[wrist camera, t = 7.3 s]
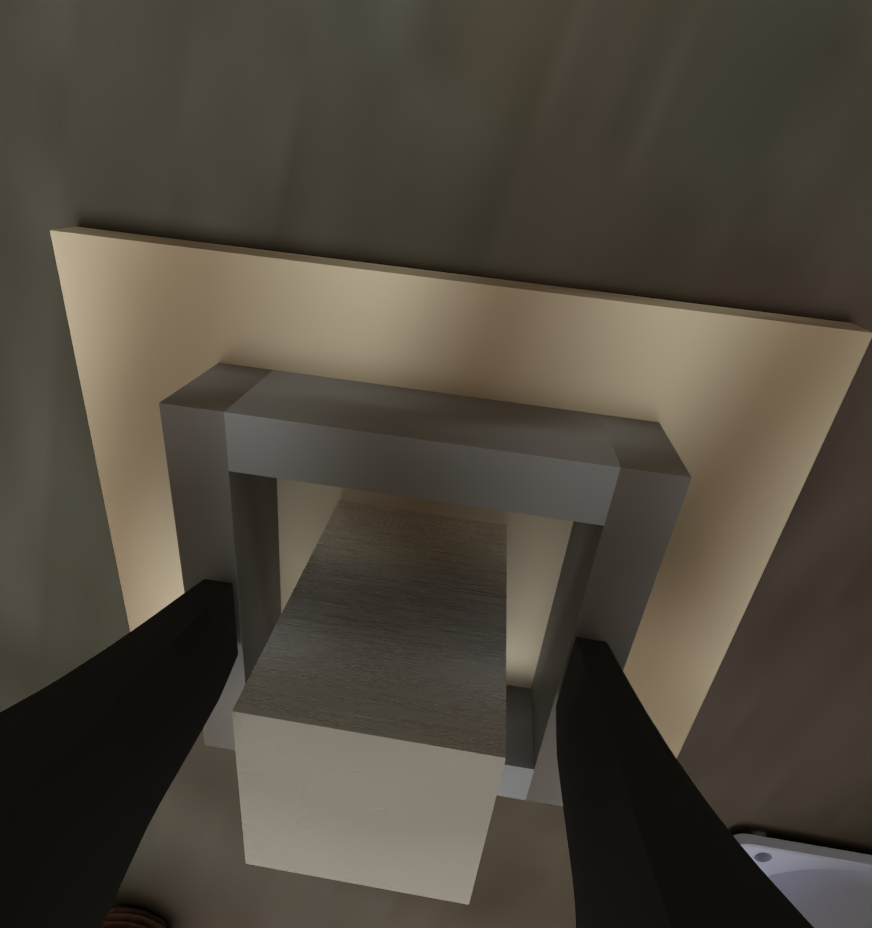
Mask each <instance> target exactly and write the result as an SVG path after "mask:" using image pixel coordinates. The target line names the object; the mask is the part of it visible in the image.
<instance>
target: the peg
mask: <svg viewBox="0 0 872 928" xmlns="http://www.w3.org/2000/svg"><path fill="white" fill-rule="evenodd" d="M506 604H507V525H503V524H496V523H490V522H483V521H477V520H470V519H463V518H457V517H450V516H443V515H437V514H430V513H423V512H417V511H410V510H403V509H397V508H390V507H383V506H377V505H370V504H363V503H357V502H350V501H343V500H339V502H338V504H337V506H336V508H335V510H334V512H333V513H332V515H331V517H330V519H329V521H328V523H327V525H326V527H325V529H324V531H323V533H322V535H321V537H320V539H319V541H318V543H317V545H316V547H315V549H314V551H313V553H312V555H311V557H310V559H309V561H308V563H307V565H306V567H305V568H304V570H303V572H302V574H301V576H300V578H299V580H298V582H297V584H296V586H295V588H294V590H293V592H292V594H291V596H290V598H289V600H288V602H287V604H286V606H285V608H284V610H283V612H282V614H281V616H280V618H279V620H278V622H277V624H276V625H275V627H274V629H273V631H272V633H271V635H270V637H269V639H268V641H267V643H266V645H265V647H264V649H263V651H262V653H261V655H260V657H259V659H258V661H257V663H256V665H255V667H254V669H253V671H252V673H251V675H250V677H249V679H248V680H247V682H246V684H245V686H244V688H243V690H242V692H241V694H240V696H239V698H238V700H237V702H236V704H235V706H234V708H233V710H232V718H233V729H234V740H235V751H236V762H237V773H238V784H239V795H240V806H241V817H242V828H243V839H244V849H245V860H246V864H251V865H256V866H262V867H267V868H273V869H278V870H284V871H289V872H294V873H300V874H305V875H311V876H316V877H321V878H327V879H332V880H338V881H343V882H349V883H354V884H359V885H365V886H370V887H376V888H381V889H387V890H392V891H397V892H403V893H408V894H414V895H419V896H424V897H430V898H435V899H441V900H446V901H452V902H457V903H462V904H468V905H469V902H470V898H471V894H472V890H473V886H474V882H475V878H476V874H477V870H478V866H479V862H480V858H481V854H482V851H483V847H484V843H485V839H486V835H487V831H488V827H489V823H490V819H491V815H492V811H493V807H494V803H495V799H496V795H497V791H498V787H499V783H500V779H501V775H502V771H503V767H504V763H505V759H506Z"/></svg>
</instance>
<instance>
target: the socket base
mask: <svg viewBox="0 0 872 928" xmlns="http://www.w3.org/2000/svg"><path fill="white" fill-rule="evenodd" d="M50 233H51V238H52V243H53V248H54V253H55V258H56V263H57V268H58V273H59V278H60V283H61V288H62V293H63V298H64V303H65V308H66V313H67V318H68V323H69V328H70V333H71V338H72V343H73V348H74V353H75V358H76V363H77V368H78V373H79V378H80V383H81V388H82V393H83V398H84V403H85V408H86V413H87V418H88V423H89V428H90V433H91V438H92V443H93V448H94V453H95V458H96V463H97V468H98V473H99V478H100V483H101V488H102V493H103V498H104V503H105V508H106V513H107V518H108V523H109V528H110V533H111V538H112V543H113V548H114V553H115V558H116V563H117V568H118V573H119V578H120V583H121V587H122V592H123V597H124V602H125V607H126V612H127V617H128V622H129V627H130V632H131V631H132V630H134V629H135V628H137V627H138V626H140V625H141V624H142V623H144V622H145V621H147V620H148V619H149V618H151V617H152V616H154V615H155V614H156V613H158V612H159V611H160V610H162V609H163V608H165V607H166V606H167V605H169V604H170V603H171V602H173V601H174V600H176V599H177V598H178V597H180V596H181V595H182V594H184V593H185V592H187V591H188V590H189V589H191V588H192V587H194V586H195V585H196V584H198V583H199V582H201V581H202V580H204V579H208V580H214V581H221V582H227V583H232V586H233V598H234V610H235V622H236V634H237V646H238V656H237V658H236V661H235V663H234V666H233V668H232V671H231V673H230V676H229V678H228V680H227V683H226V685H225V687H224V689H223V692H222V694H221V696H220V699H219V701H218V702H217V704H216V706H215V708H214V710H213V711H212V713H211V715H210V717H209V719H208V720H207V722H206V724H205V726H204V727H203V733H204V741H205V745H207V746H213V747H219V748H225V749H231V750H235V740H234V729H233V718H232V710H233V708H234V706H235V704H236V702H237V700H238V698H239V696H240V694H241V692H242V690H243V688H244V686H245V684H246V682H247V680H248V679H249V677H250V675H251V673H252V671H253V669H254V667H255V665H256V663H257V661H258V659H259V657H260V655H261V653H262V651H263V649H264V647H265V645H266V643H267V641H268V639H269V637H270V635H271V633H272V631H273V629H274V627H275V625H276V624H277V622H278V620H279V618H280V616H281V614H282V612H283V610H284V608H285V606H286V604H287V602H288V600H289V598H290V596H291V594H292V592H293V590H294V588H295V586H296V584H297V582H298V580H299V578H300V576H301V574H302V572H303V570H304V568H305V567H306V565H307V563H308V561H309V559H310V557H311V555H312V553H313V551H314V549H315V547H316V545H317V543H318V541H319V539H320V537H321V535H322V533H323V531H324V529H325V527H326V525H327V523H328V521H329V519H330V517H331V515H332V513H333V512H334V510H335V508H336V506H337V504H338V502H339V500H343V501H350V502H357V503H363V504H370V505H377V506H383V507H390V508H397V509H403V510H410V511H417V512H423V513H430V514H437V515H443V516H450V517H457V518H463V519H470V520H477V521H483V522H490V523H496V524H503V525H507V604H506V759H505V763H504V767H503V771H502V775H501V779H500V783H499V787H498V791H497V795H499V796H504V797H510V798H516V799H522V800H528V801H533V802H539V803H545V804H551V805H557V806H563V801H562V794H561V786H560V778H559V770H558V762H557V745H556V704H557V700H558V697H559V693H560V690H561V686H562V683H563V679H564V676H565V673H566V669H567V666H568V662H569V659H570V655H571V652H572V648H573V645H574V641H575V638H576V637H580V638H586V639H593V640H599V641H606V642H607V644H608V645H609V646H610V648H611V650H612V652H613V653H614V655H615V657H616V659H617V661H618V663H619V664H620V666H621V668H622V670H623V672H624V674H625V675H626V677H627V679H628V681H629V682H630V684H631V686H632V688H633V689H634V691H635V693H636V695H637V696H638V698H639V700H640V701H641V703H642V705H643V706H644V708H645V710H646V711H647V713H648V715H649V716H650V718H651V720H652V721H653V723H654V724H655V726H656V728H657V729H658V731H659V732H660V734H661V735H662V737H663V739H664V740H665V742H666V743H667V745H668V747H669V748H670V750H671V751H672V753H673V754H674V756H675V757H676V759H677V757H678V755H679V752H680V750H681V748H682V746H683V744H684V742H685V740H686V737H687V735H688V733H689V731H690V729H691V727H692V724H693V722H694V720H695V718H696V716H697V714H698V711H699V709H700V707H701V705H702V703H703V701H704V699H705V696H706V694H707V692H708V690H709V688H710V686H711V683H712V681H713V679H714V677H715V675H716V673H717V670H718V668H719V666H720V664H721V662H722V660H723V658H724V655H725V653H726V651H727V649H728V647H729V645H730V642H731V640H732V638H733V636H734V634H735V632H736V629H737V627H738V625H739V623H740V621H741V619H742V617H743V614H744V612H745V610H746V608H747V606H748V604H749V601H750V599H751V597H752V595H753V593H754V591H755V588H756V586H757V584H758V582H759V580H760V578H761V576H762V573H763V571H764V569H765V567H766V565H767V563H768V560H769V558H770V556H771V554H772V552H773V550H774V547H775V545H776V543H777V541H778V539H779V537H780V534H781V532H782V530H783V528H784V526H785V524H786V522H787V519H788V517H789V515H790V513H791V511H792V509H793V506H794V504H795V502H796V500H797V498H798V496H799V493H800V491H801V489H802V487H803V485H804V483H805V481H806V478H807V476H808V474H809V472H810V470H811V468H812V465H813V463H814V461H815V459H816V457H817V455H818V452H819V450H820V448H821V446H822V444H823V442H824V440H825V437H826V435H827V433H828V431H829V429H830V427H831V424H832V422H833V420H834V418H835V416H836V414H837V411H838V409H839V407H840V405H841V403H842V401H843V399H844V396H845V394H846V392H847V390H848V388H849V386H850V383H851V381H852V379H853V377H854V375H855V373H856V370H857V368H858V366H859V364H860V362H861V360H862V358H863V355H864V353H865V351H866V349H867V347H868V345H869V342H870V340H871V338H872V332H870V331H868V330H866V329H864V328H861V327H859V326H857V325H855V324H852V323H848V322H840V321H832V320H824V319H816V318H808V317H800V316H792V315H784V314H776V313H768V312H760V311H752V310H744V309H736V308H728V307H719V306H711V305H703V304H695V303H687V302H679V301H671V300H663V299H655V298H647V297H639V296H631V295H623V294H615V293H607V292H599V291H591V290H583V289H575V288H567V287H558V286H550V285H542V284H534V283H526V282H518V281H510V280H502V279H494V278H486V277H478V276H470V275H462V274H454V273H446V272H438V271H430V270H422V269H414V268H406V267H398V266H389V265H381V264H373V263H365V262H357V261H349V260H341V259H333V258H325V257H317V256H309V255H301V254H293V253H285V252H277V251H269V250H261V249H253V248H245V247H237V246H228V245H220V244H212V243H204V242H196V241H188V240H180V239H172V238H164V237H156V236H148V235H140V234H132V233H124V232H116V231H108V230H100V229H92V228H84V227H70V228H63V229H55V230H50Z"/></svg>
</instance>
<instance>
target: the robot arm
mask: <svg viewBox="0 0 872 928" xmlns="http://www.w3.org/2000/svg"><path fill="white" fill-rule="evenodd" d="M237 656H238V646H237V634H236V622H235V610H234V598H233V586H232V583H227V582H221V581H214V580H208V579H204V580H202V581H201V582H199V583H198V584H196V585H195V586H194V587H192V588H191V589H189V590H188V591H187V592H185V593H184V594H182V595H181V596H180V597H178V598H177V599H176V600H174V601H173V602H171V603H170V604H169V605H167V606H166V607H165V608H163V609H162V610H160V611H159V612H158V613H156V614H155V615H154V616H152V617H151V618H149V619H148V620H147V621H145V622H144V623H142V624H141V625H140V626H138V627H137V628H135V629H134V630H132V631H131V632H130V633H128V634H127V635H125V636H124V637H122V638H121V639H120V640H118V641H117V642H115V643H114V644H113V645H111V646H110V647H108V648H107V649H105V650H104V651H102V652H100V653H99V654H97V655H96V656H94V657H93V658H91V659H90V660H88V661H87V662H85V663H83V664H82V665H80V666H79V667H77V668H76V669H74V670H73V671H71V672H70V673H68V674H66V675H65V676H63V677H62V678H60V679H58V680H57V681H55V682H53V683H52V684H50V685H48V686H47V687H45V688H43V689H42V690H40V691H38V692H36V693H35V694H33V695H31V696H29V697H27V698H26V699H24V700H22V701H20V702H18V703H17V704H15V705H13V706H11V707H9V708H8V709H6V710H4V711H2V712H0V928H102V926H103V923H104V921H105V919H106V917H107V914H108V912H109V910H110V907H111V905H112V903H113V901H114V898H115V896H116V894H117V892H118V889H119V887H120V885H121V883H122V880H123V878H124V876H125V874H126V872H127V870H128V867H129V865H130V863H131V861H132V859H133V857H134V854H135V852H136V850H137V848H138V846H139V844H140V841H141V839H142V837H143V835H144V833H145V831H146V829H147V827H148V825H149V823H150V821H151V819H152V817H153V815H154V813H155V811H156V810H157V808H158V806H159V804H160V802H161V800H162V799H163V797H164V795H165V793H166V792H167V790H168V788H169V787H170V785H171V783H172V781H173V780H174V778H175V776H176V774H177V773H178V771H179V769H180V767H181V766H182V764H183V762H184V760H185V759H186V757H187V755H188V754H189V752H190V750H191V748H192V747H193V745H194V743H195V741H196V740H197V738H198V736H199V734H200V733H201V731H202V729H203V727H204V726H205V724H206V722H207V720H208V719H209V717H210V715H211V713H212V711H213V710H214V708H215V706H216V704H217V702H218V701H219V699H220V696H221V694H222V692H223V689H224V687H225V685H226V683H227V680H228V678H229V676H230V673H231V671H232V668H233V666H234V663H235V661H236V658H237ZM556 745H557V762H558V770H559V778H560V786H561V794H562V801H563V809H564V817H565V824H566V832H567V839H568V847H569V854H570V862H571V869H572V877H573V887H574V897H575V910H576V928H872V855H869V854H863V853H857V852H852V851H846V850H840V849H834V848H828V847H822V846H817V845H811V844H805V843H799V842H793V841H787V840H782V839H776V838H770V837H764V836H758V835H752V834H744V833H741V834H736V835H732V833H731V832H730V831H729V830H728V828H727V827H726V826H725V825H724V823H723V822H722V821H721V820H720V818H719V817H718V816H717V814H716V813H715V812H714V810H713V809H712V808H711V806H710V805H709V804H708V802H707V801H706V800H705V798H704V797H703V796H702V794H701V793H700V792H699V790H698V789H697V787H696V786H695V785H694V783H693V782H692V780H691V779H690V777H689V776H688V775H687V773H686V772H685V770H684V769H683V767H682V766H681V764H680V763H679V762H678V760H677V759H676V757H675V756H674V754H673V753H672V751H671V750H670V748H669V747H668V745H667V743H666V742H665V740H664V739H663V737H662V735H661V734H660V732H659V731H658V729H657V728H656V726H655V724H654V723H653V721H652V720H651V718H650V716H649V715H648V713H647V711H646V710H645V708H644V706H643V705H642V703H641V701H640V700H639V698H638V696H637V695H636V693H635V691H634V689H633V688H632V686H631V684H630V682H629V681H628V679H627V677H626V675H625V674H624V672H623V670H622V668H621V666H620V664H619V663H618V661H617V659H616V657H615V655H614V653H613V652H612V650H611V648H610V646H609V645H608V644H607V642H606V641H599V640H593V639H586V638H580V637H576V638H575V641H574V645H573V648H572V652H571V655H570V659H569V662H568V666H567V669H566V673H565V676H564V679H563V683H562V686H561V690H560V693H559V697H558V700H557V704H556Z"/></svg>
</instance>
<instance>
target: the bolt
mask: <svg viewBox="0 0 872 928" xmlns="http://www.w3.org/2000/svg"><path fill="white" fill-rule="evenodd" d="M102 928H167V924H166V922H165V921H164V920H162V919H161V918H159V917H157V916H155V915H153V914H151V913H150V912H148V911H145V910H142V909H138V908H132V907H125V906H117V907H114V908H112V909H110V910H109V912H108V914H107V917H106V919H105V921H104V923H103V926H102Z"/></svg>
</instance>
